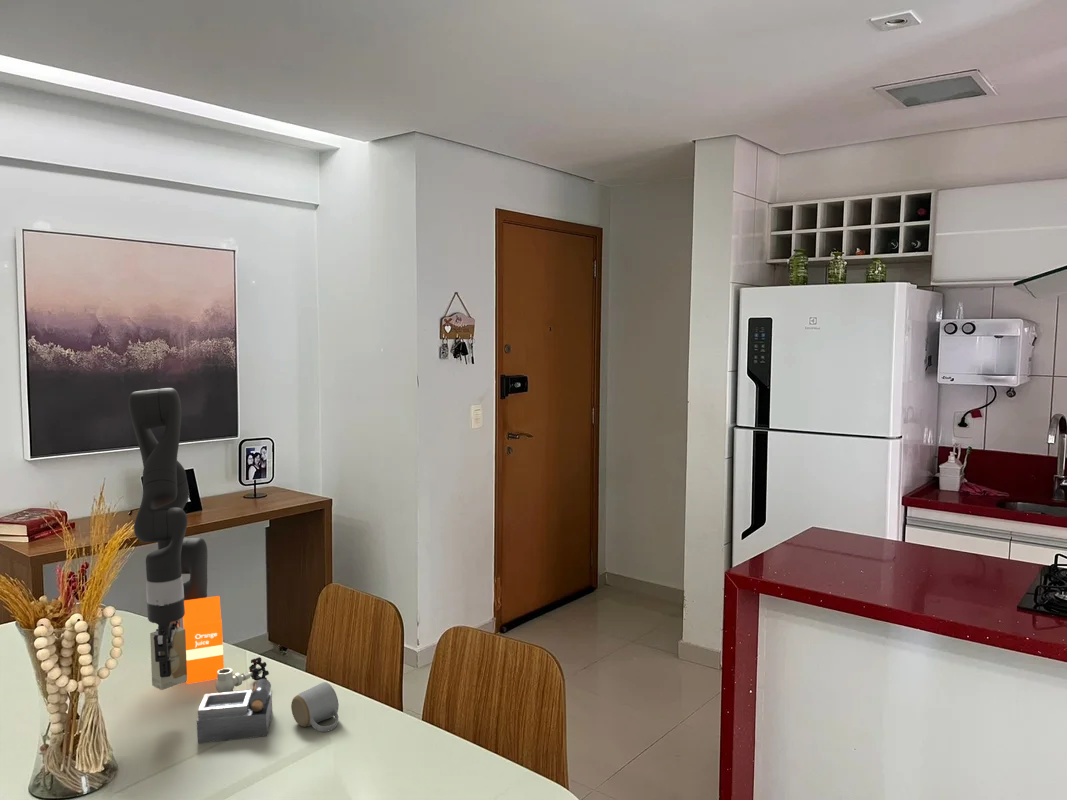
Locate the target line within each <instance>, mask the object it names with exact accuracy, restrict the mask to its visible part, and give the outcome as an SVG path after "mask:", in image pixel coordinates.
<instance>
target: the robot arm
mask: <svg viewBox="0 0 1067 800" xmlns="http://www.w3.org/2000/svg"><path fill="white" fill-rule="evenodd" d="M128 409H129V415H130V419H131V422H132V426H133V430H134V433H135V437H136V440H137V443H138V447H139V451H140V455H141V460H142V466H143V470H142V496H141V497H142V499H141V502H140V506H139V510H138V511H137V514H136V518H135V521H134V524H133V531H134V535H135V537H136V538H137V539H138V540H139V541H140V542H142V543H155V542H157V550H153V551H151V552H150V553H148V554H147V555H146V556H145V570H146V571H145V572H146V585H145V586H146V587H145V594H146V608H147V609H146V610H147V620H148V622H150V623H152V624H156V625H158V626H157V629H155V632H156V635H155V636H154V646H155V660H156V662H159V668H160V677H170V676H171V650H172V649H173V648H174V637H175V635H176V629H178V628H179V627H181V628H183V629H184V626H183V616H184V615H185V605H184V601H185V600H192V599H199V598H207V597H208V546H207V542H206V540H205V539H204V538H202V537H185V535H186V531H187V527H188V516H187V513H186V512H185V510H184V508H185V506H186V504H187V502H188V500H189V496H190V489H189V483H188V478H187V477H188V476H187V472H186V469H185V468H184V466H183V465H182V464H181V462H180V461H178V453H179V445H180V439H181V438H180V437H181V427H182V412H183V411H182V403H181V398H180V395H179V392H178V391H177V390H176V389H175V388H173V387H164V388H163V387H162V388H156V389H155V388H154V389H153V388H152V389H147V390H146V389H144V390H138V391H133V392H131V393H130V395H129V397H128ZM158 428H165V429H164V432H163V434H162V437H161V438H160V440H159V441H158V439H157V438H156V436H155V435H154V433H153V431H152V429H158ZM183 575H189V580H187V581H186V582H184V581H183ZM168 643H170V645H168ZM161 651H164V652H165V655H161Z"/></svg>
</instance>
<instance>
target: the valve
mask: <svg viewBox="0 0 1067 800" xmlns="http://www.w3.org/2000/svg"><path fill="white" fill-rule="evenodd" d="M250 663H251V665H250V666H249V667H248V670H249V671H245V672H243V673H239V672H236V673H234V672H233V669H232V668H230V667H226V668H225V667H224V669H220V670H218V671H217V679H216V682H215V688H216V689H215V690H216V691H217V693H222V692H233V691H234V689H235V687H240V686H241V685H242V684H243V682H245V681H247V680H248V679H250V678H251V679H252V680H254V681H256V682H257V681H258V680H260V679H266V680H268V679H267V676H268V675H270V671H269V670H266V667H267V662H265V661H263V662H262V658H261V657H260V656H258V657H256V658H253V659H251V660H250ZM257 666H258V667H257ZM261 674H262V675H261ZM260 675H261V676H260ZM256 682H255V683H256Z"/></svg>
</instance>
